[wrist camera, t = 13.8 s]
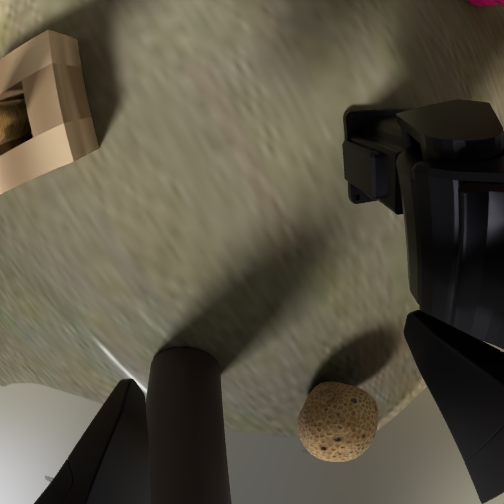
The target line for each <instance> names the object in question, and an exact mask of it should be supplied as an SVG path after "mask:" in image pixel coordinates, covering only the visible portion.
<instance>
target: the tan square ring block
mask: <svg viewBox="0 0 504 504" xmlns="http://www.w3.org/2000/svg"><path fill="white" fill-rule="evenodd" d="M22 97H25V103H26V108H27V113H28V117H29V122H30V126H31V131H32V135H33V138H32V139H30V140H28V141H26V142H25V141H24V137H20V138H17V139H14V140H11V141H9V142H6V143H3V144H0V194H2V193H4V192H6V191H8V190H10V189H12V188H14V187H16V186H18V185H20V184H22V183H24V182H26V181H29V180H31V179H33V178H35V177H38V176H40V175H42V174H44V173H47V172H49V171H52V170H54V169H56V168H59V167H61V166H64V165H66V164H69V163H71V162H74V161H76V160H78V159H79V158H81V157H83V156H85V155H87V154H89V153H91V152H93V151H95V150H97V149H99V145H98V141H97V137H96V133H95V129H94V125H93V121H92V117H91V112H90V108H89V103H88V98H87V93H86V88H85V83H84V78H83V72H82V67H81V61H80V54H79V47H78V40H77V39H76V38H73V37H70V36H67V35H64V34H61V33H58V32H55V31H51V30H46V31H45V32H43V33H41V34H39V35H38V36H36V37H34V38H33V39H31V40H29V41H28V42H26V43H24V44H23V45H21V46H20V47H18V48H17V49H15V50H13V51H12V52H10V53H9V54H8V55H6V56H5V57H3V58H2V59H0V102H6V101H14V100H19V99H21V98H22Z"/></svg>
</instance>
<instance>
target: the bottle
mask: <svg viewBox="0 0 504 504" xmlns="http://www.w3.org/2000/svg"><path fill="white" fill-rule="evenodd" d="M146 414H147V424H148V434H149V480H150V503H151V504H231V495H230V485H229V476H228V467H227V456H226V444H225V433H224V420H223V407H222V392H221V377H220V367H219V365H218V364H217V362H216V361H215V359H213V358H212V357H211V356H209V355H208V354H206V353H204V352H201V351H199V350H196V349H190V348H173V349H169V350H165V351H163V352H161V353H159V354H158V355H156V357H155V358H154V359H153V361H152V362H151V369H150V376H149V383H148V390H147V398H146Z"/></svg>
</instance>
